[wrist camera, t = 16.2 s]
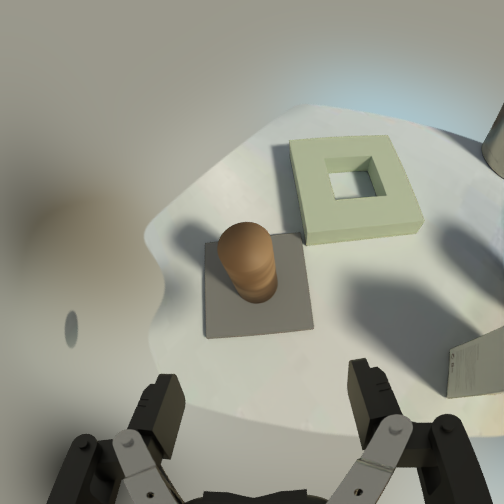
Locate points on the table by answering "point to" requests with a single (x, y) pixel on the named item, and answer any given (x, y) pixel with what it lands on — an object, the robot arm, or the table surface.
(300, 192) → the collar block
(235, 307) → the rubber mat
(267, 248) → the walnut pin
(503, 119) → the robot arm
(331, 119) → the table surface
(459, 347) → the skincare box
